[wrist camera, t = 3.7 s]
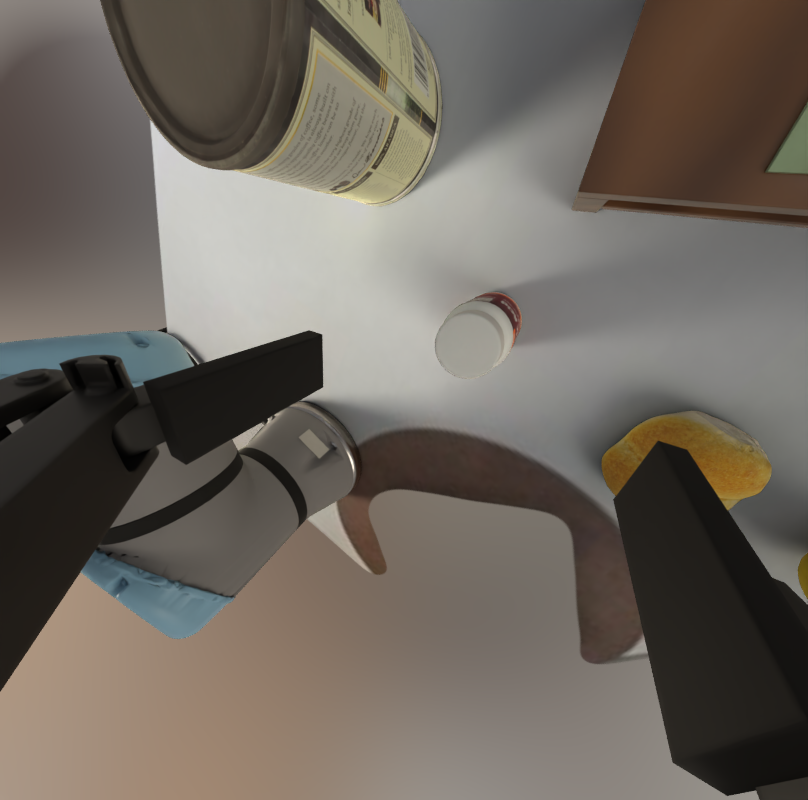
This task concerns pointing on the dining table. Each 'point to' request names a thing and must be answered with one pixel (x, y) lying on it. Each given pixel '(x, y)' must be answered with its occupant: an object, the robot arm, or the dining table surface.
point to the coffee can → (287, 89)
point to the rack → (708, 115)
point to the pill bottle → (478, 335)
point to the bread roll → (694, 453)
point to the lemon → (803, 574)
